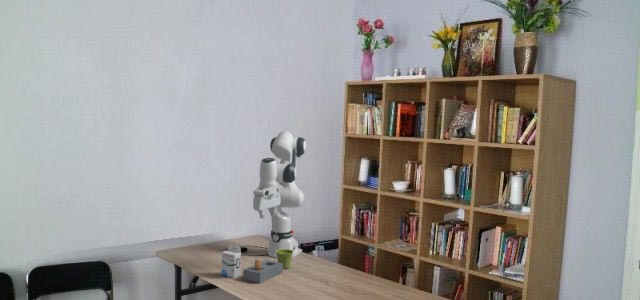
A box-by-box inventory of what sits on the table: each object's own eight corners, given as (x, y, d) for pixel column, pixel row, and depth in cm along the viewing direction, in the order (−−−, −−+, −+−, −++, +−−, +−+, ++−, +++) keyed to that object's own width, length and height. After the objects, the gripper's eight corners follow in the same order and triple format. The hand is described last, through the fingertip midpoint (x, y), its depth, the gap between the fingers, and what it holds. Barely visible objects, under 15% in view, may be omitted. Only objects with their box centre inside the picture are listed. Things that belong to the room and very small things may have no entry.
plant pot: (290, 271, 245) (290, 254, 245) (273, 269, 247) (273, 252, 246) (294, 265, 254) (295, 250, 254) (278, 264, 256) (278, 248, 256)
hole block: (266, 269, 246) (266, 259, 246) (282, 272, 242) (282, 263, 241) (243, 279, 228) (243, 269, 228) (260, 283, 224) (260, 273, 224)
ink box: (220, 275, 234) (221, 246, 234) (227, 272, 239) (228, 244, 238) (234, 278, 230) (234, 248, 229) (240, 275, 235) (241, 246, 234)
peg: (256, 277, 233) (257, 259, 232) (261, 278, 231) (262, 260, 231) (253, 279, 230) (253, 260, 230) (258, 280, 229) (258, 261, 228)
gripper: (273, 186, 252) (273, 212, 253) (251, 191, 234) (250, 219, 235) (283, 188, 249) (283, 213, 250) (261, 193, 231) (261, 221, 232)
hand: (267, 216), depth 243 cm, fingers open, 8 cm apart
